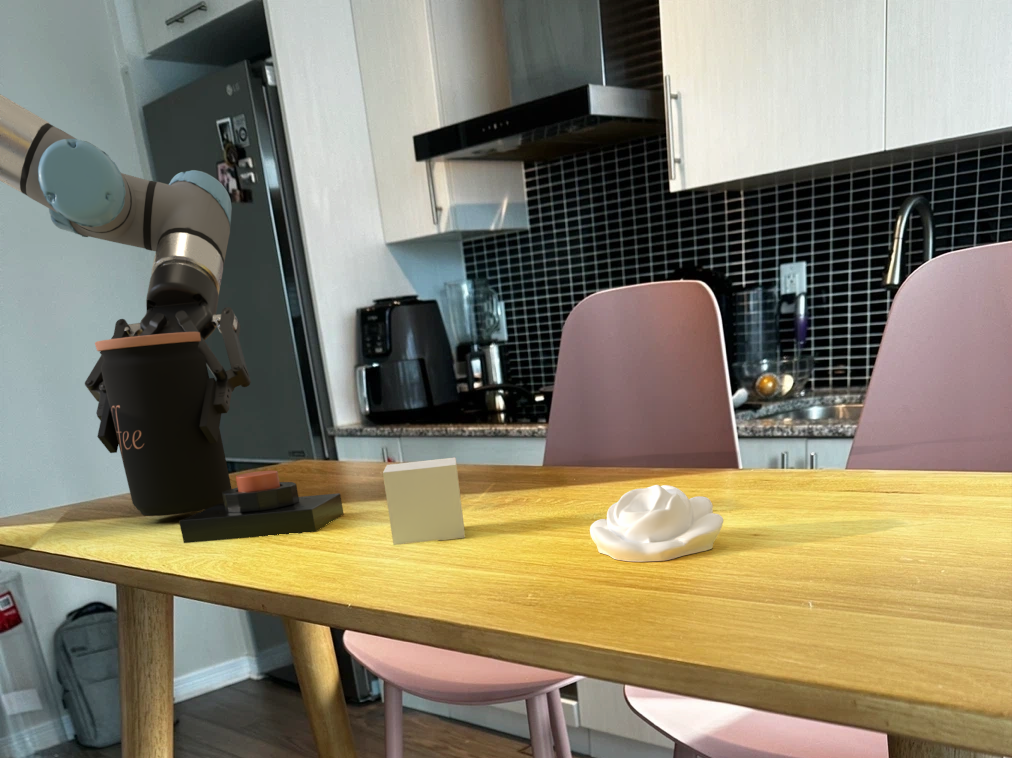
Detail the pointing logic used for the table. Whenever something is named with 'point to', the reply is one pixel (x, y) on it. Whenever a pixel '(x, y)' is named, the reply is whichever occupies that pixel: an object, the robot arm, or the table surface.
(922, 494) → the table surface
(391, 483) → the beige cube
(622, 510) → the rose
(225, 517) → the control block
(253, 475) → the button
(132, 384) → the coffee jar
